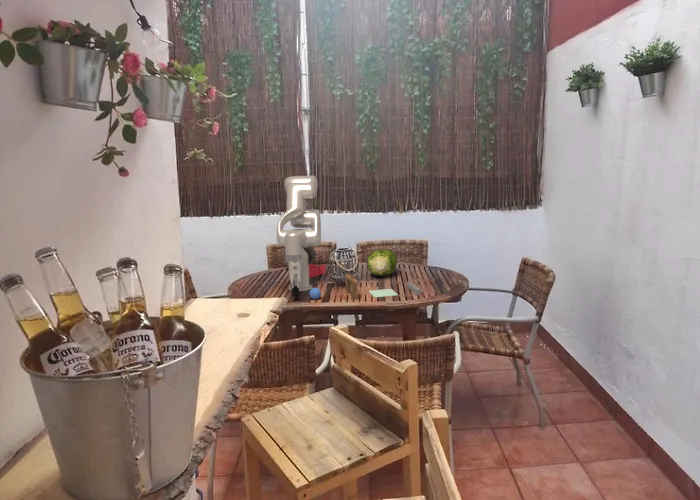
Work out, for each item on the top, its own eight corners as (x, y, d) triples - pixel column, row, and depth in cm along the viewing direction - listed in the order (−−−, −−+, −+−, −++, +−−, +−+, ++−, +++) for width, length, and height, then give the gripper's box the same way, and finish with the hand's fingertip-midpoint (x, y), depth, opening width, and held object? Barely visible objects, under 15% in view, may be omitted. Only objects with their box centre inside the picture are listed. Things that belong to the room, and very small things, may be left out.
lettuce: (364, 281, 288) (364, 254, 285) (370, 272, 308) (369, 246, 305) (394, 281, 285) (394, 254, 282) (397, 272, 305) (397, 246, 302)
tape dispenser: (317, 278, 299) (316, 270, 298) (301, 277, 302) (300, 269, 301) (326, 272, 312) (326, 264, 311) (311, 272, 315) (310, 263, 314)
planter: (278, 263, 319) (294, 235, 313) (281, 260, 326) (298, 232, 321) (301, 278, 318) (318, 250, 313) (304, 275, 325) (321, 248, 320)
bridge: (351, 300, 253) (351, 281, 251) (345, 292, 267) (345, 274, 265) (357, 299, 254) (357, 280, 252) (351, 291, 268) (351, 273, 266)
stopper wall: (407, 286, 274) (407, 282, 273) (410, 286, 274) (410, 281, 274) (416, 294, 258) (416, 289, 258) (420, 294, 259) (420, 289, 258)
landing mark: (368, 291, 268) (368, 290, 268) (391, 289, 270) (391, 288, 270) (374, 297, 256) (374, 296, 256) (398, 295, 259) (398, 294, 259)
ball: (309, 297, 259) (308, 286, 258) (320, 296, 260) (319, 285, 259) (310, 301, 254) (310, 289, 253) (322, 300, 255) (321, 288, 254)
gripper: (303, 260, 244) (305, 298, 247) (299, 255, 259) (301, 291, 262) (287, 261, 243) (289, 300, 246) (284, 256, 257) (286, 292, 260)
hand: (295, 295), depth 254 cm, fingers closed
